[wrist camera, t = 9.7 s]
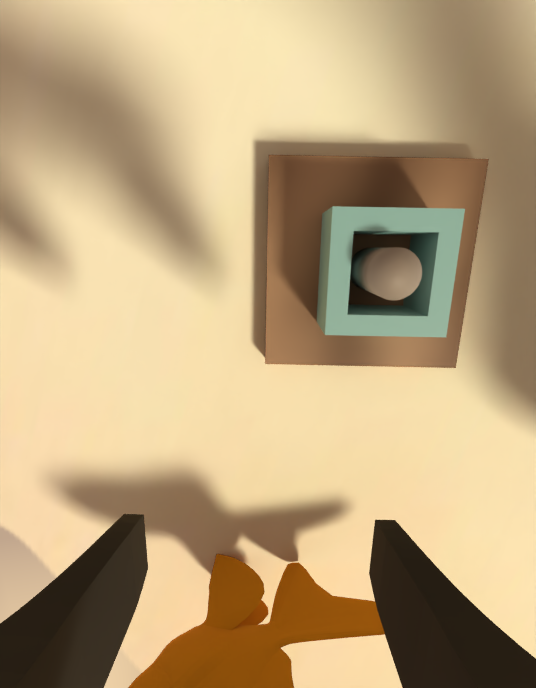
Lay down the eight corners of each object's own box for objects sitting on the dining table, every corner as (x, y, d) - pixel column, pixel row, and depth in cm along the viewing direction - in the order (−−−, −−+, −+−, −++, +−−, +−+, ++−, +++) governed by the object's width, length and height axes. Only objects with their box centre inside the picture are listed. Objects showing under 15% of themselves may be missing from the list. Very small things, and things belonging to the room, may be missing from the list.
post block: (476, 163, 17) (554, 131, 13) (446, 362, 20) (502, 398, 15) (269, 160, 18) (268, 126, 13) (265, 358, 20) (263, 393, 15)
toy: (94, 611, 21) (92, 866, 12) (325, 502, 27) (439, 618, 18) (105, 645, 21) (111, 913, 12) (328, 532, 27) (441, 658, 18)
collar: (432, 215, 17) (464, 208, 14) (418, 323, 18) (446, 337, 16) (322, 213, 17) (332, 206, 14) (316, 321, 18) (325, 335, 16)
